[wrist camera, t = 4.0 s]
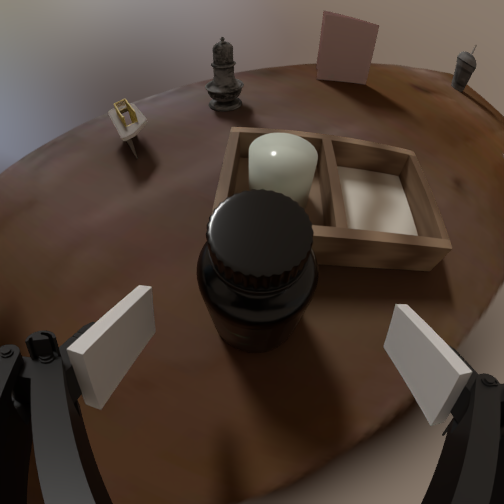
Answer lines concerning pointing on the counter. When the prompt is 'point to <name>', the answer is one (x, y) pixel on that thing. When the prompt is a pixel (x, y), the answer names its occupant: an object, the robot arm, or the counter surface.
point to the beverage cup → (463, 70)
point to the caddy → (356, 201)
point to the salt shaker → (224, 79)
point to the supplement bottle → (257, 268)
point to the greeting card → (345, 48)
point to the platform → (120, 124)
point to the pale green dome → (283, 165)
